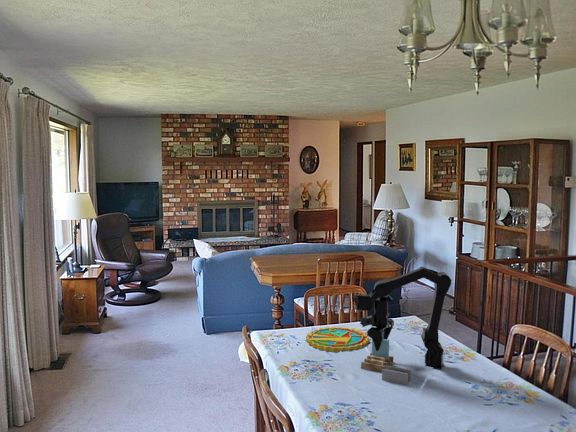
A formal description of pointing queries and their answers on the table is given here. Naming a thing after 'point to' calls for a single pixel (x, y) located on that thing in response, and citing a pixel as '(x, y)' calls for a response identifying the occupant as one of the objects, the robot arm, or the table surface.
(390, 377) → the holder
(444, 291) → the robot arm
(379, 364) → the offcut small
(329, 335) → the decorative plaque
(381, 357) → the offcut front
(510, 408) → the table surface
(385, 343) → the tall sheet
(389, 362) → the rack
